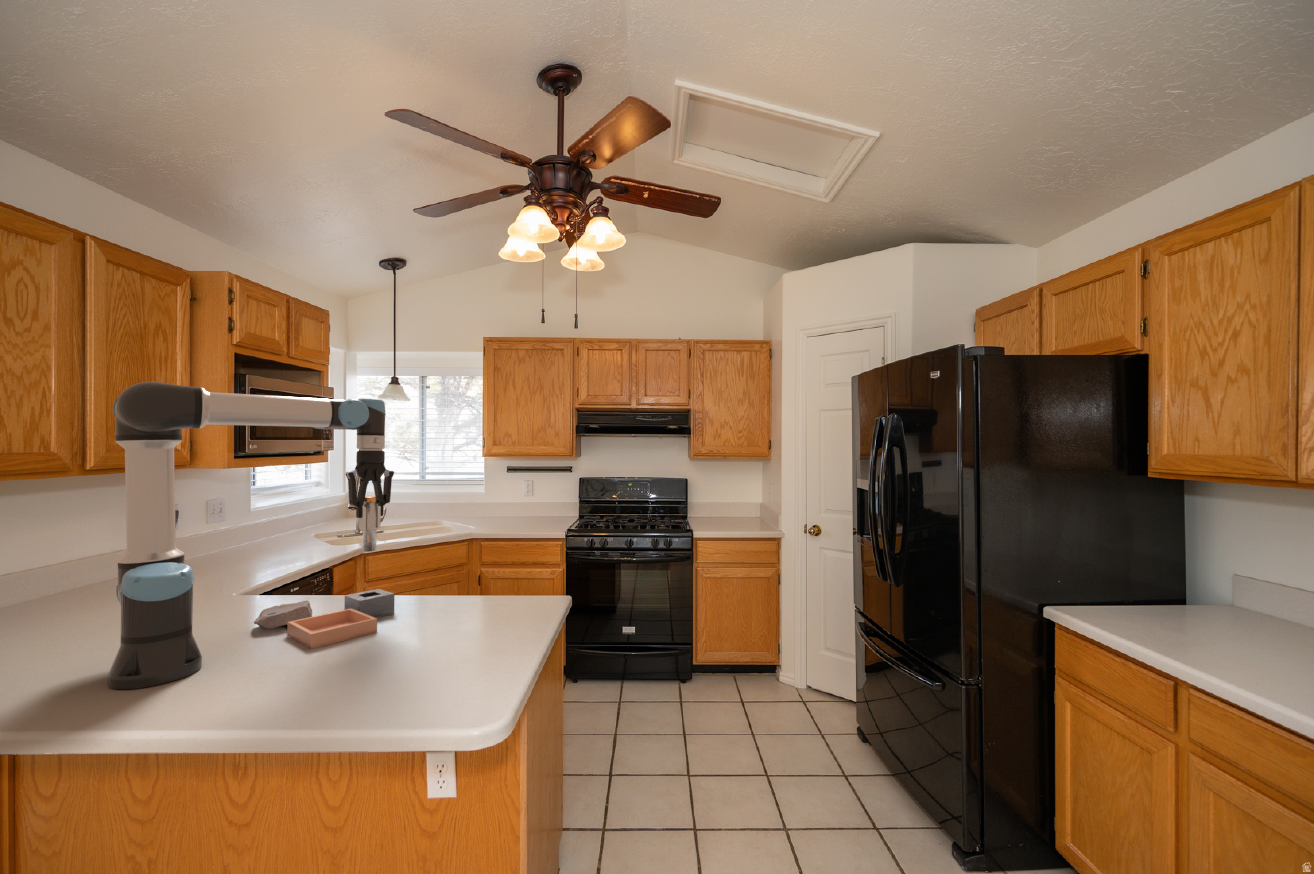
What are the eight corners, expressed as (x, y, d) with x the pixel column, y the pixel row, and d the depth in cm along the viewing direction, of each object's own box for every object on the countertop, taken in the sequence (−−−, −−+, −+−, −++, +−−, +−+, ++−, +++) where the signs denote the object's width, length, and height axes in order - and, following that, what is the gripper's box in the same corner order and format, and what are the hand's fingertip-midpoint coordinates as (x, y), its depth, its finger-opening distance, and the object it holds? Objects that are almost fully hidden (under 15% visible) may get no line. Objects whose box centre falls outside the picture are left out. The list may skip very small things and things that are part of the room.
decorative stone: (254, 636, 145) (255, 613, 146) (254, 627, 153) (255, 605, 153) (313, 626, 153) (314, 605, 154) (310, 618, 161) (311, 598, 161)
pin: (365, 551, 161) (366, 497, 162) (360, 550, 164) (361, 497, 164) (378, 550, 164) (379, 496, 165) (372, 549, 166) (373, 496, 167)
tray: (310, 648, 135) (311, 634, 135) (287, 635, 145) (287, 621, 145) (377, 631, 148) (377, 618, 148) (351, 620, 158) (351, 608, 158)
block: (359, 621, 157) (359, 600, 157) (344, 615, 163) (344, 595, 163) (394, 613, 164) (394, 593, 165) (378, 607, 171) (378, 588, 171)
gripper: (346, 449, 156) (345, 532, 155) (404, 450, 169) (403, 526, 168) (335, 450, 161) (334, 530, 160) (392, 450, 174) (391, 524, 173)
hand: (369, 527), depth 164 cm, fingers closed on pin, 4 cm apart
